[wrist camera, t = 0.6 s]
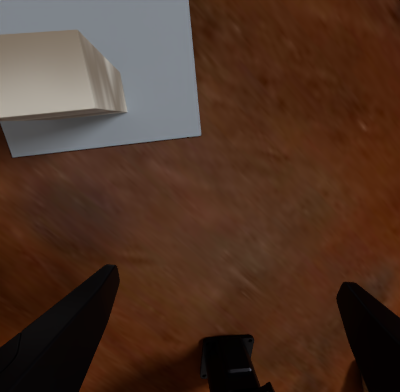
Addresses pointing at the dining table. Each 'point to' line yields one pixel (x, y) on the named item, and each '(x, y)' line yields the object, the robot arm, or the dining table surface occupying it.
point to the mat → (124, 62)
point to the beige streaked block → (56, 78)
